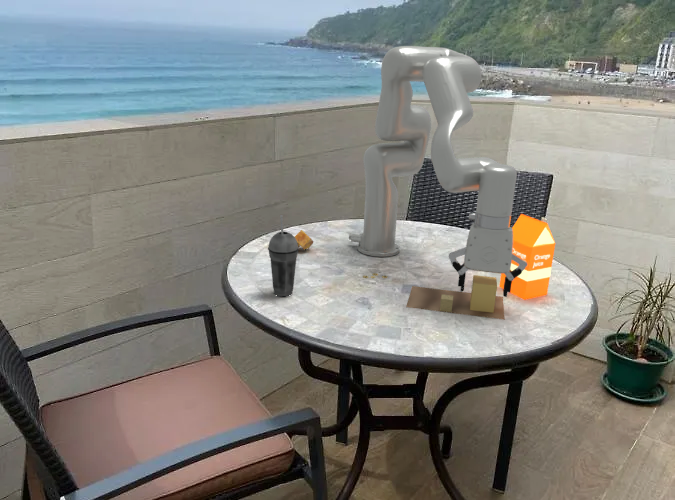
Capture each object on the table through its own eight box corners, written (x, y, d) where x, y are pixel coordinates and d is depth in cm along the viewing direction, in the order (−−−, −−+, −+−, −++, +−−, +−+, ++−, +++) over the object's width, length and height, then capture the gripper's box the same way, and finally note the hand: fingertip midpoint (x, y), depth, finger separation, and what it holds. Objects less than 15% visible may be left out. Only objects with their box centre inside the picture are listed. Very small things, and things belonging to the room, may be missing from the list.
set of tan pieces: (361, 283, 152) (361, 276, 151) (373, 278, 155) (373, 271, 155) (376, 289, 149) (376, 282, 148) (388, 283, 152) (389, 276, 152)
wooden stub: (439, 310, 133) (441, 298, 132) (440, 306, 136) (441, 294, 135) (451, 312, 133) (452, 300, 132) (452, 307, 135) (453, 295, 134)
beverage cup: (302, 290, 145) (304, 212, 138) (291, 301, 138) (291, 220, 132) (275, 285, 147) (275, 208, 140) (263, 296, 140) (262, 216, 134)
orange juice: (523, 304, 141) (535, 225, 135) (498, 291, 149) (508, 215, 142) (547, 299, 145) (559, 221, 138) (521, 286, 152) (532, 211, 145)
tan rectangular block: (470, 309, 134) (473, 283, 132) (470, 300, 139) (473, 275, 137) (493, 312, 133) (497, 285, 131) (492, 303, 138) (496, 277, 136)
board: (405, 311, 135) (406, 307, 135) (411, 290, 147) (412, 285, 147) (504, 324, 131) (504, 319, 130) (502, 301, 143) (502, 296, 142)
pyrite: (294, 254, 169) (298, 258, 173) (310, 238, 169) (314, 242, 173) (283, 243, 170) (288, 247, 174) (299, 227, 171) (303, 231, 174)
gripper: (452, 221, 128) (444, 293, 133) (534, 229, 124) (523, 303, 130) (453, 212, 135) (446, 281, 140) (532, 220, 131) (521, 290, 137)
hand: (483, 291), depth 135 cm, fingers open, 9 cm apart
